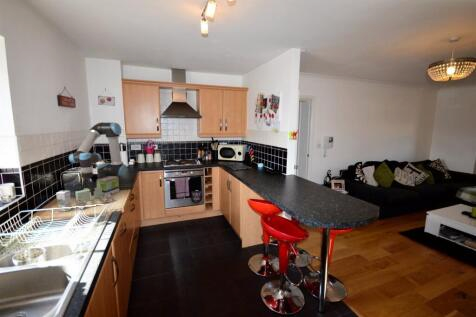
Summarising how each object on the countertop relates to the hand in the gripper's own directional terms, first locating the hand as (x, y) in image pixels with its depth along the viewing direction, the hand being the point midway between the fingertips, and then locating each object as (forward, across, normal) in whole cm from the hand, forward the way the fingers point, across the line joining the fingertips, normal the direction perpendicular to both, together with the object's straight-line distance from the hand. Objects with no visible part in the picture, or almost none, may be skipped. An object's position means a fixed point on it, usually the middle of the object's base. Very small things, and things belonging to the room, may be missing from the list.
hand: (89, 197), depth 174 cm
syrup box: (+4, +8, -18) cm, 20 cm away
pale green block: (+4, 0, 0) cm, 4 cm away
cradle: (+3, +10, 0) cm, 11 cm away
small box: (+4, -25, -4) cm, 26 cm away
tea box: (+4, -10, +18) cm, 21 cm away
